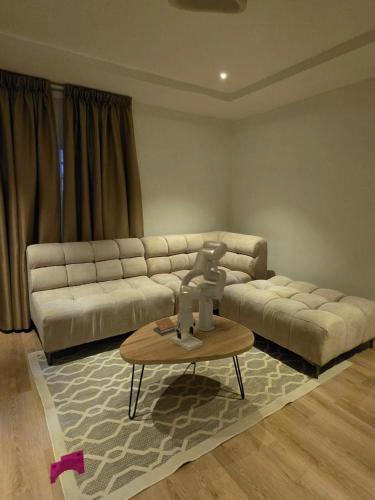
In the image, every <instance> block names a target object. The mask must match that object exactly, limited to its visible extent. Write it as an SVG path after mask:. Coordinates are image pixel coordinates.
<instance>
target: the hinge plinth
mask: <svg viewBox="0 0 375 500" xmlns="http://www.w3.org/2000/svg"><path fill="white" fill-rule="evenodd" d="M153 331H154V332H155V333H157V334H158V335H159V336H161V337H163V336H165V335H168V334H171V333H174V332H176V331H175V329H174V328H171V329H168V330H165V331H162V332H161V331H160V329H159V328H158V326H157V327H154V328H153Z"/></svg>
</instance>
